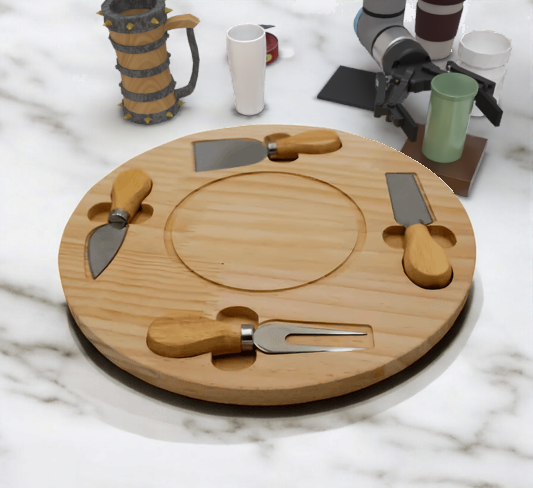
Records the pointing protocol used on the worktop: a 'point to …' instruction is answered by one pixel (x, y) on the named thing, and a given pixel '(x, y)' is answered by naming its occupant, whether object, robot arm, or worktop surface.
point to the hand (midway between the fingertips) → (457, 126)
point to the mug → (148, 57)
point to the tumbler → (448, 116)
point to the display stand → (452, 173)
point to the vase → (485, 58)
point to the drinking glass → (247, 66)
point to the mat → (352, 88)
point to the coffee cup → (437, 25)
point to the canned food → (270, 46)
